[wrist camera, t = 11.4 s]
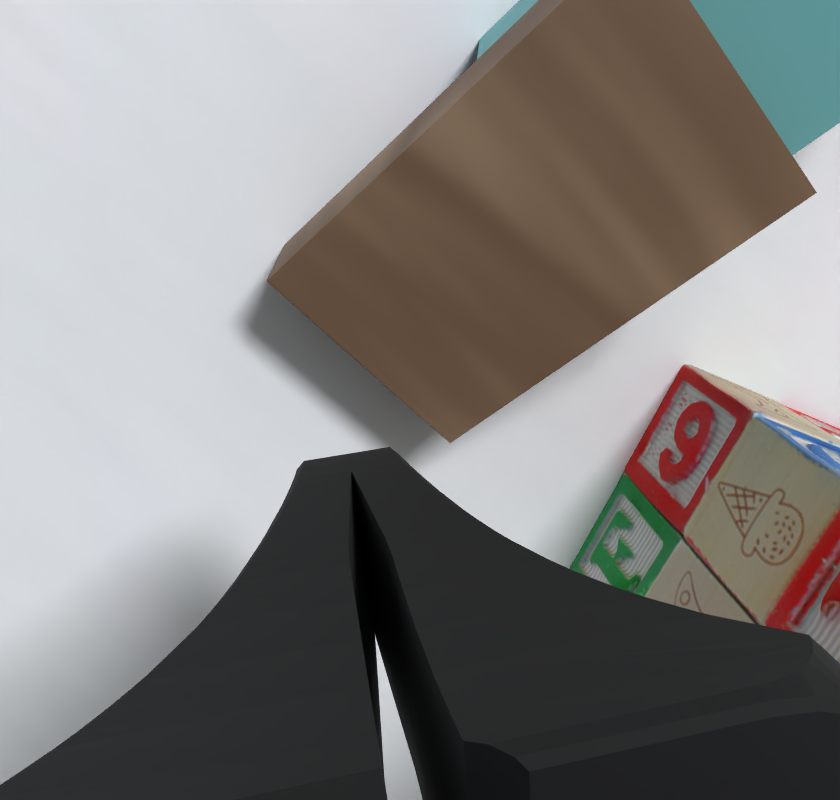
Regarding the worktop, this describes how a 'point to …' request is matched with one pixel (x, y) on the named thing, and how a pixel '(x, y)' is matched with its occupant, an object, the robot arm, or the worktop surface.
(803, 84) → the teal domino
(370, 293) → the walnut domino
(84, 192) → the worktop surface
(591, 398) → the worktop surface
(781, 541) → the stack of blocks
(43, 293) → the worktop surface
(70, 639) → the worktop surface
